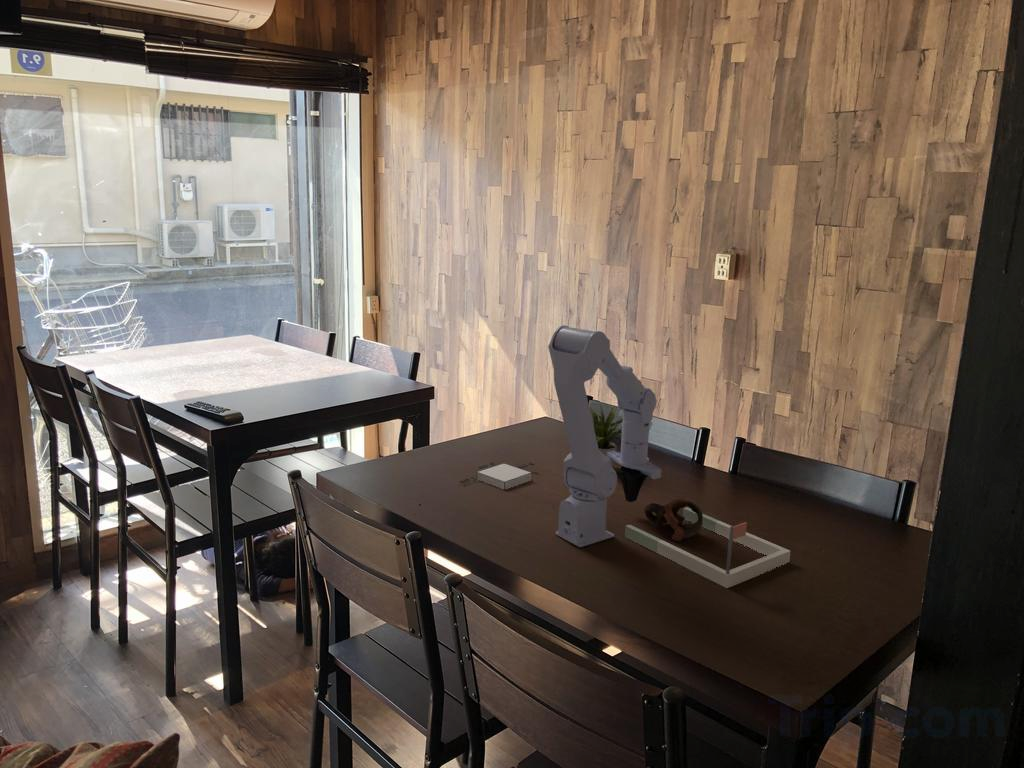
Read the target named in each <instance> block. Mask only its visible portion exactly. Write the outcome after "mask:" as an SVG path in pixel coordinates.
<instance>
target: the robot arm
mask: <svg viewBox="0 0 1024 768" xmlns="http://www.w3.org/2000/svg"><path fill="white" fill-rule="evenodd" d="M547 347H548V352H549V355H550V359H551V363H552V368H553V383H554V390H555V392H556V397H557V401H558V404H559V408H560V413H561V417H562V421H563V424H564V430H565V434H566V437H567V441H568V446H569V449H570V450H569V451H570V453H568V454H567V456H566V457H565V458H564V460H563V462H562V464H563V469H564V470H563V481H564V484H565V486H566V487H568V493H570V495H569V496H568V497H567V498H566V499H564V500H562V501H560V504H559V507H558V526H557V531H555V535H557V536H558V537H560V538H562V539H564V540H566V541H567V542H569V543H571V544H572V545H574V546H577V547H579V548H583V547H586V546H590V545H593V544H596V543H598V542H601V541H606V540H609V539H612V538H614V537H615V534H614V533H613V532H610V531H608V530H607V529H606V527H607V526H606V524H607V505H608V504H607V503H608V498H609V497H611V496H612V494H614V492H615V490H616V488H617V484H618V477H619V480H620V482H621V485H622V489H623V492H624V493H623V494H624V497H625V501H626V502H629V503H632V502H636V501H637V499H638V496H639V493H640V491H641V489H642V486H643V484H644V482H645V481H646V479H647V477H650V478H651V479H652V480H657V479H660V478H662V469H661V468H659V467H658V466H656V465H654V464H653V463H652V462H650V458H649V457H648V450H649V436H650V435H649V433H650V423H651V422H652V420H653V414H654V412H655V411H654V410H655V409H656V406H657V402H658V401H657V398H656V396H657V395H656V394H655V392H654V391H653V390H652V389H651V388H648V387H645V386H644V384H642V383H643V382H642V380H641V379H638V377H637V375H635V373H634V369H633V368H632V366H627V365H621V364H620V362H619V361H618V359H617V358H616V356H615V354H614V352H613V351H612V350H611V340H610V339H609V338H608V337H607V336H606V334H605V333H604V332H603V331H600V330H595V331H594V330H590V329H582V328H578V327H570V326H568V325H560V326H558V327H557V328H556V330H554V332H553V334H552V337H551V339H550V341H549V344H548V346H547ZM598 370H599V371H601V372H602V374H604V375H605V377H606V385H607V387H608V388H609V389H610V391H611V392H612V393H613V394H614V395H615V398H616V400H617V401H616V402H617V408H619V409H620V410H622V417H623V421H622V422H621V423H622V424H621V429H622V430H621V431H622V433H621V435H622V437H621V442H620V443H621V444H620V452H619V451H617V450H616V451H611V452H607V457H606V456H605V455H604V454H603V453H602V452H601V451H600V450H599V449H598V444H597V440H596V435H595V431H594V427H595V426H593V425H594V422H593V417H592V413H591V410H590V408H591V407H590V405H589V400H588V395H587V391H586V387H585V382H587V381H590V380H592V379H593V377H594V376H595V374H596V372H597V371H598ZM611 461H613V463H617V464H619V465H620V468H617V469H614V468H613V466H611Z"/></svg>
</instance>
